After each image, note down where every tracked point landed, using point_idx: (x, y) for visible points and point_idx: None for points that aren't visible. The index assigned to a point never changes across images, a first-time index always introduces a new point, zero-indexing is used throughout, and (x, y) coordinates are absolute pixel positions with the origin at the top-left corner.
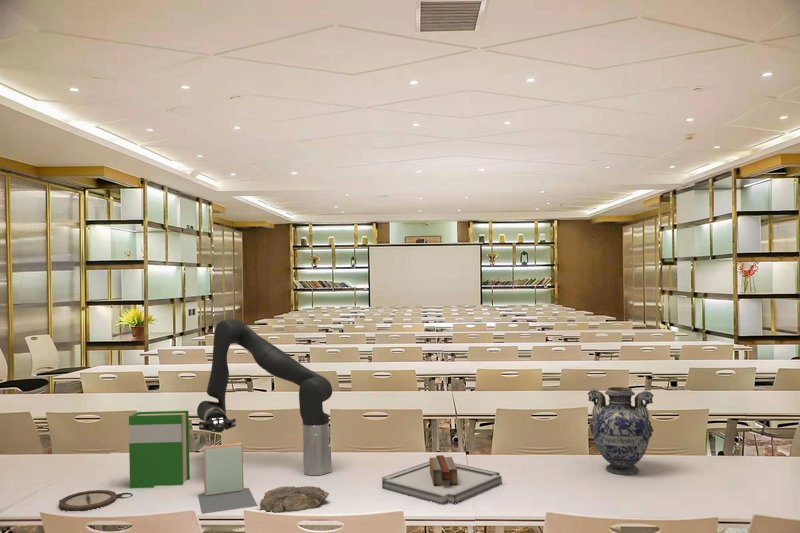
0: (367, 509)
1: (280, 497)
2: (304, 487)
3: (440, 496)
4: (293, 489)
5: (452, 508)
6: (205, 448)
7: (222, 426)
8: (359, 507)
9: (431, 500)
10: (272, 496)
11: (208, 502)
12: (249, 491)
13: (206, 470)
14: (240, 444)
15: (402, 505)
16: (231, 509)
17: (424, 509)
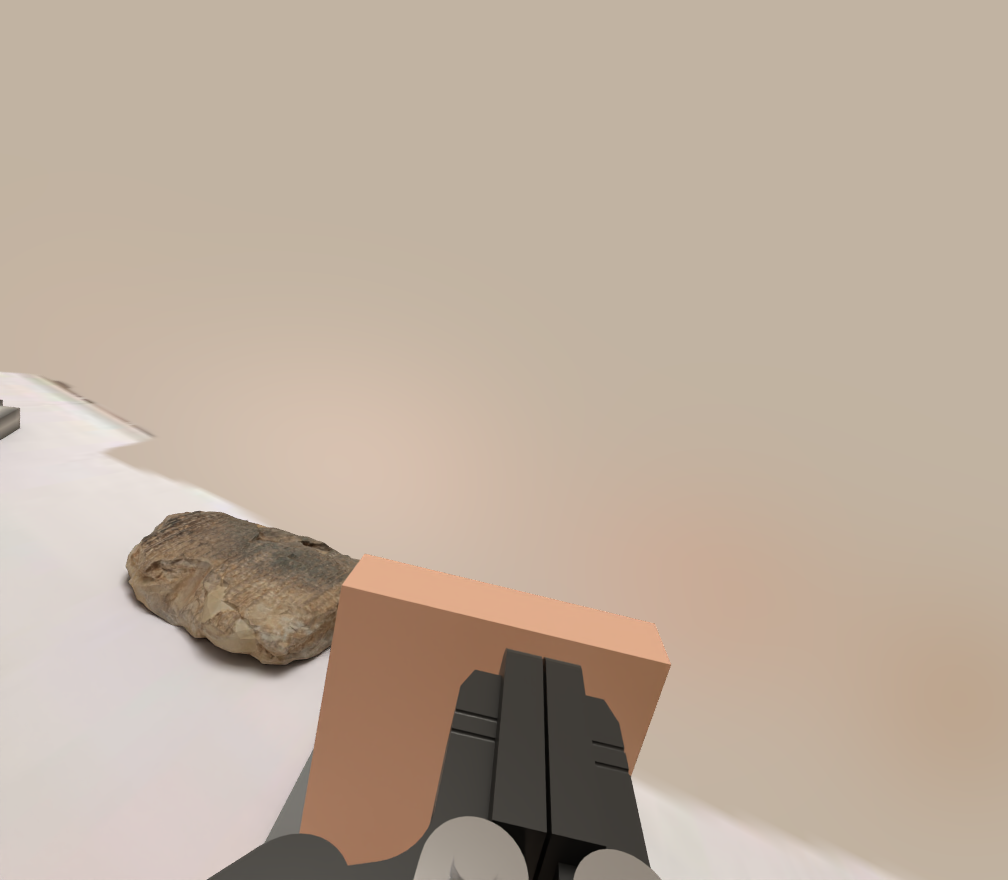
0: (156, 484)
1: (328, 551)
2: (206, 542)
3: (17, 410)
4: (259, 545)
5: (39, 419)
6: (643, 622)
7: (487, 691)
8: (152, 496)
9: (2, 434)
10: (345, 564)
11: None
12: (292, 803)
13: None
14: (381, 559)
15: (72, 459)
16: None
17: (79, 438)
